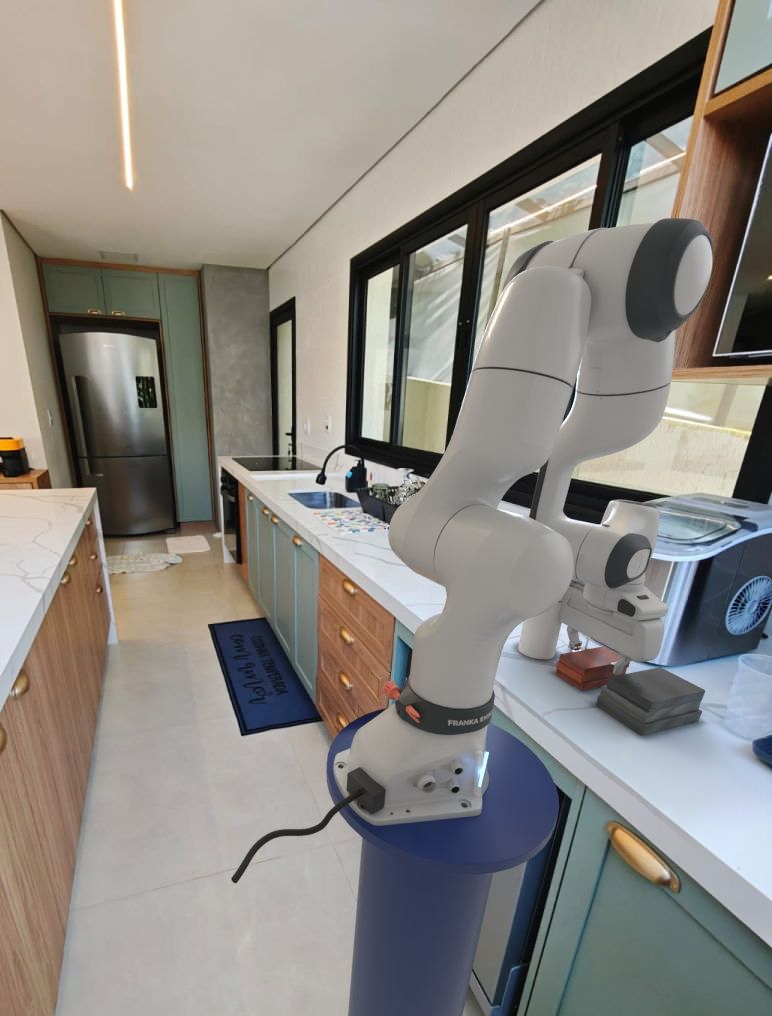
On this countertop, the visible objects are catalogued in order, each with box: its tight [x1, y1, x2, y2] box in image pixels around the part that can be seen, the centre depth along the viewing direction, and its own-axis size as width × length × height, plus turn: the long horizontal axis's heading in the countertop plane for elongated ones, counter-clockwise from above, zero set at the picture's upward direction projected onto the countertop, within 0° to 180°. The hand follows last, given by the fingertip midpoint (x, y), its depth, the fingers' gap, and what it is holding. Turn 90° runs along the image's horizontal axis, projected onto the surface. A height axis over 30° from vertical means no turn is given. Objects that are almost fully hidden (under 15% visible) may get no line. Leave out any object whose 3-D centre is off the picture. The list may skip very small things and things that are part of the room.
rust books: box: [555, 660, 628, 692], centre depth 95 cm, size 11×6×3 cm, turn 110°
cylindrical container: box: [517, 597, 563, 660], centre depth 101 cm, size 7×7×25 cm
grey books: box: [595, 666, 706, 737], centre depth 84 cm, size 13×9×6 cm
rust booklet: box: [558, 645, 631, 676], centre depth 94 cm, size 11×6×2 cm, turn 110°
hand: (593, 660), depth 94 cm, fingers open, 8 cm apart
